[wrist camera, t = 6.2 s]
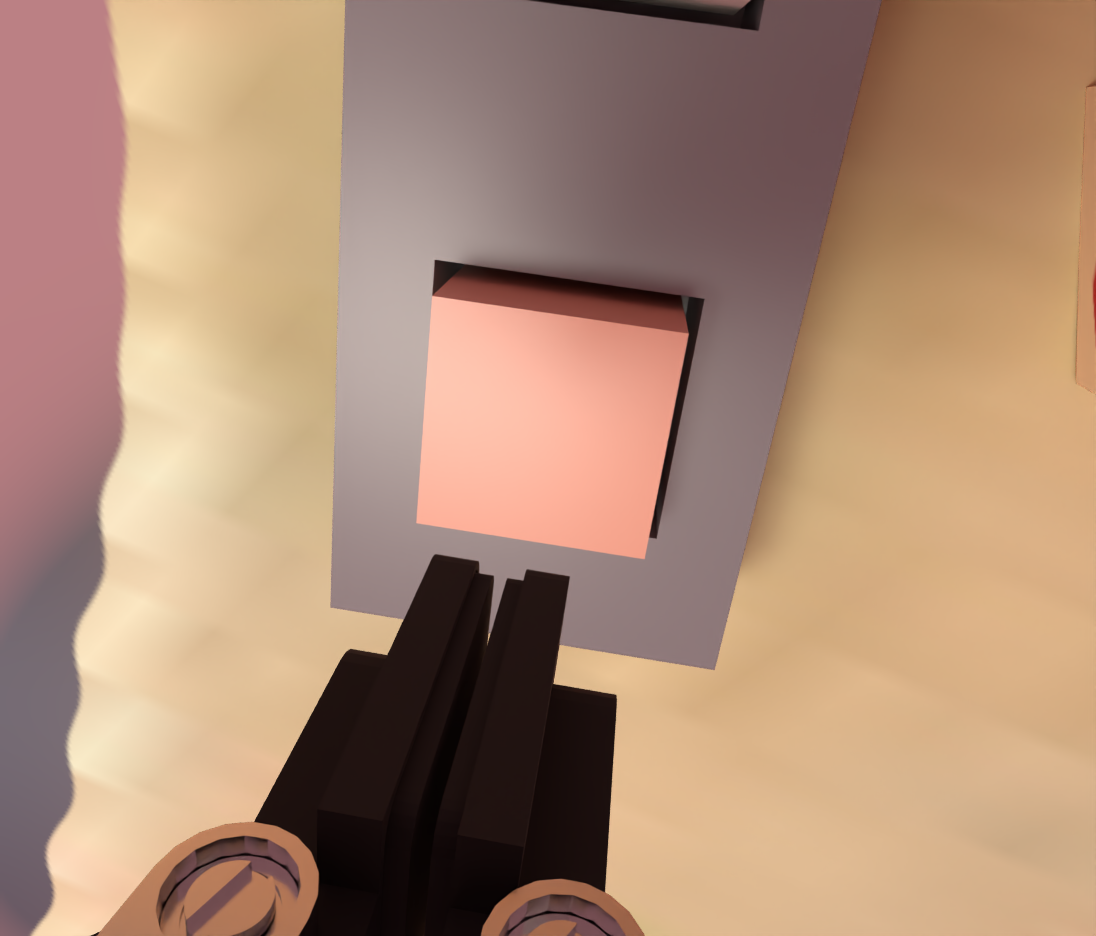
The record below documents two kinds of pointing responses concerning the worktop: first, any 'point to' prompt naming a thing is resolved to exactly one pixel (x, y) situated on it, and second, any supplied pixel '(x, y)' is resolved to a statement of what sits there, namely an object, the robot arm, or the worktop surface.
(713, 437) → the key block
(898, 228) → the worktop surface
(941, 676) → the worktop surface
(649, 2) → the ivory key
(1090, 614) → the worktop surface
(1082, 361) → the milk carton
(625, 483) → the terracotta key
